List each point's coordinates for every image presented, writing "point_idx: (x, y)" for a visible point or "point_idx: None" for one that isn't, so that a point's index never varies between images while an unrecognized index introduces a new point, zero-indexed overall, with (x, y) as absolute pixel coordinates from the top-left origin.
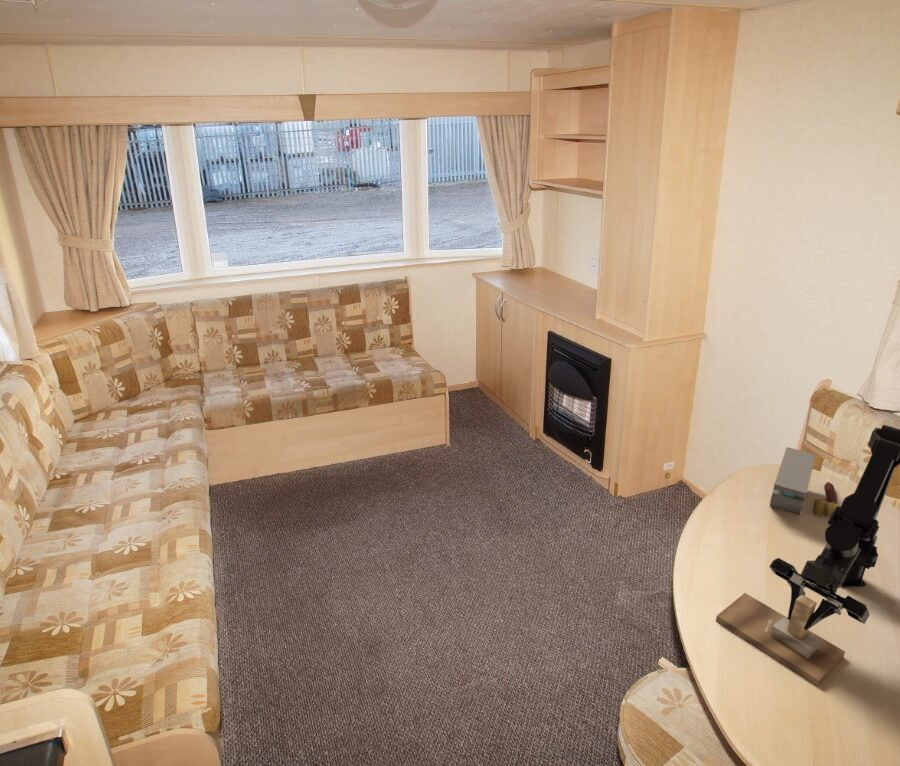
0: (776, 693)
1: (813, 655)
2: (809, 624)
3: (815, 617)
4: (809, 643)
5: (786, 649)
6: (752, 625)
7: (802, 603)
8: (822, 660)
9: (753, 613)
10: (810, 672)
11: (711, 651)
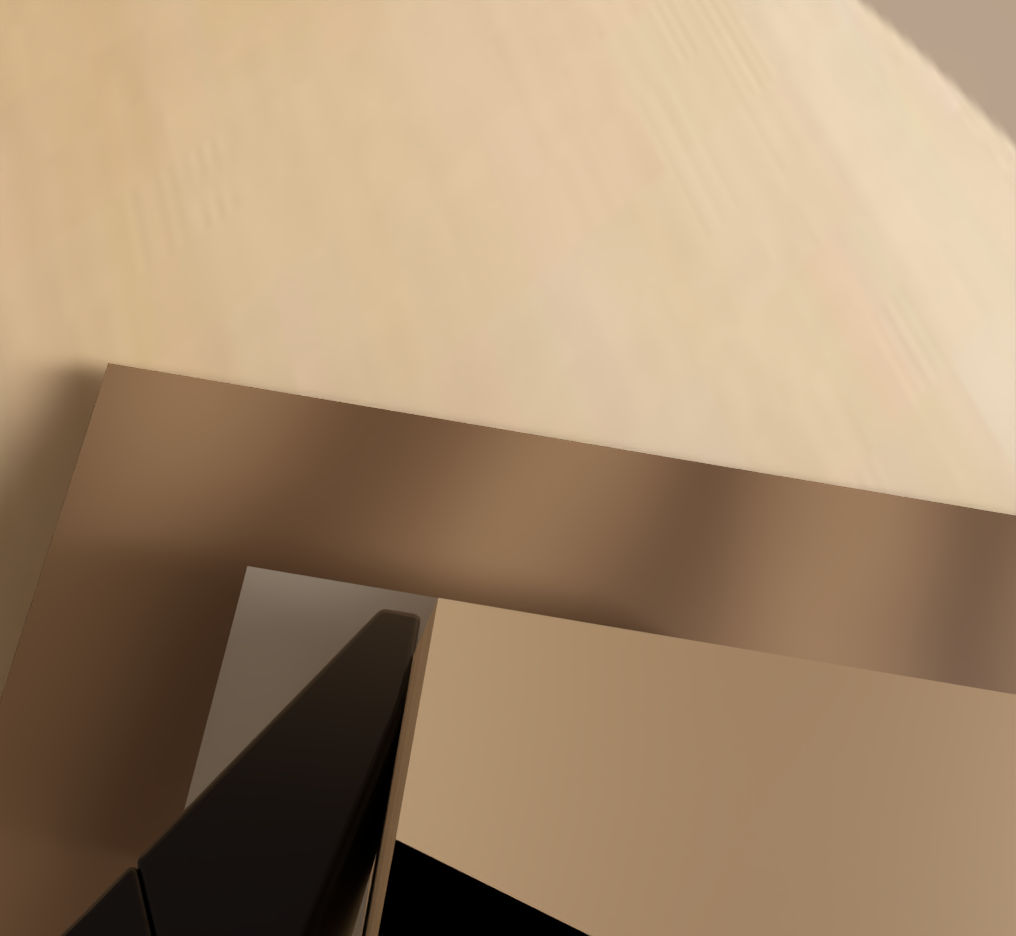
0: (402, 118)
1: None
2: (338, 675)
3: (216, 845)
4: (289, 677)
5: (501, 567)
6: (896, 671)
7: (918, 687)
8: (124, 699)
9: None
10: (207, 413)
11: (916, 209)
